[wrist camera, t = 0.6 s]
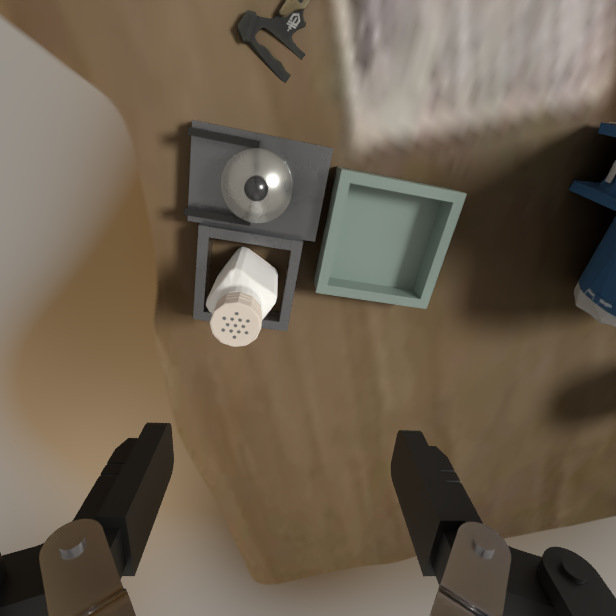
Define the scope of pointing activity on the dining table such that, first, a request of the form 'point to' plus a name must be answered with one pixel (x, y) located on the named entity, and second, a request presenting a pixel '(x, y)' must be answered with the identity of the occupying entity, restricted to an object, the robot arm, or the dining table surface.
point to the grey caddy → (253, 200)
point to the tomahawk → (275, 32)
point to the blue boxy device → (600, 250)
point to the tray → (385, 238)
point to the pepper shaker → (242, 298)
